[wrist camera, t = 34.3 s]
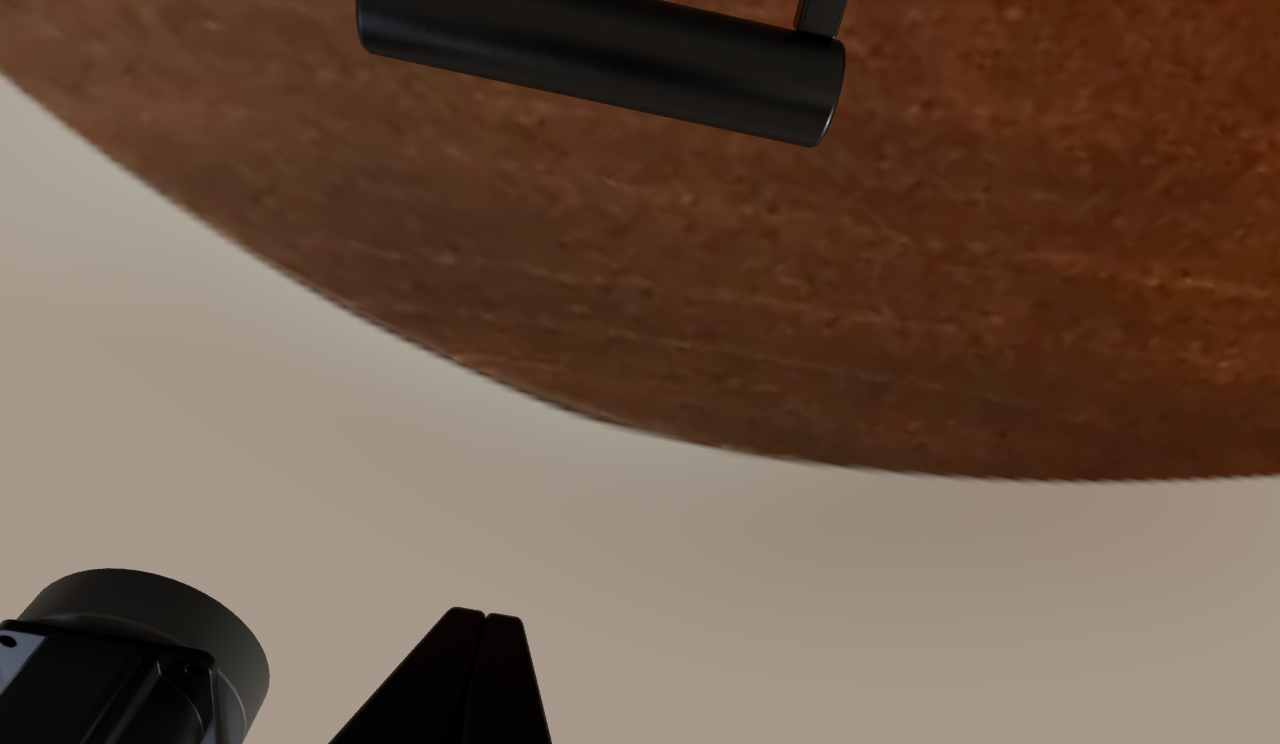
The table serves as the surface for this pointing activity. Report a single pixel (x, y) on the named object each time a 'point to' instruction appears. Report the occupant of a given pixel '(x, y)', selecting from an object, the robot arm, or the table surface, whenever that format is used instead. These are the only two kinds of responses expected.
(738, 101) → the drawer
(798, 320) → the table surface
